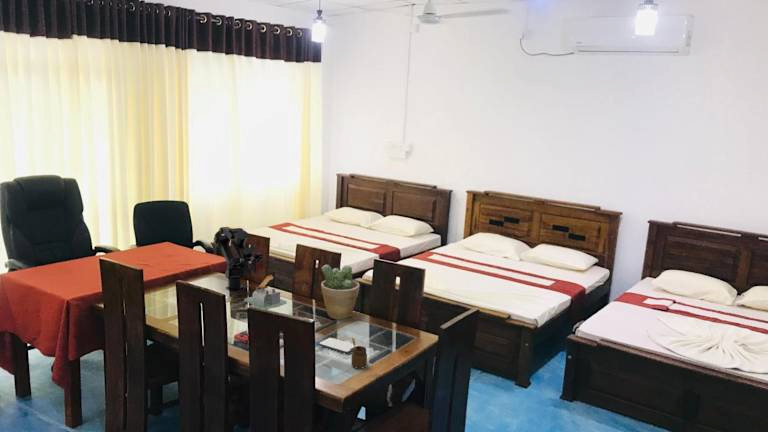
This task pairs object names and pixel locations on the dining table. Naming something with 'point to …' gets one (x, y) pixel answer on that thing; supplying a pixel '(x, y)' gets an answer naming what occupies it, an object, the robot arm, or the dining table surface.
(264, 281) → the orange brown bar
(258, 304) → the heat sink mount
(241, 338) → the gaming console
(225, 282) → the dining table surface
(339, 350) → the phone case
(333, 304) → the potted plant
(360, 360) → the utensil holder
